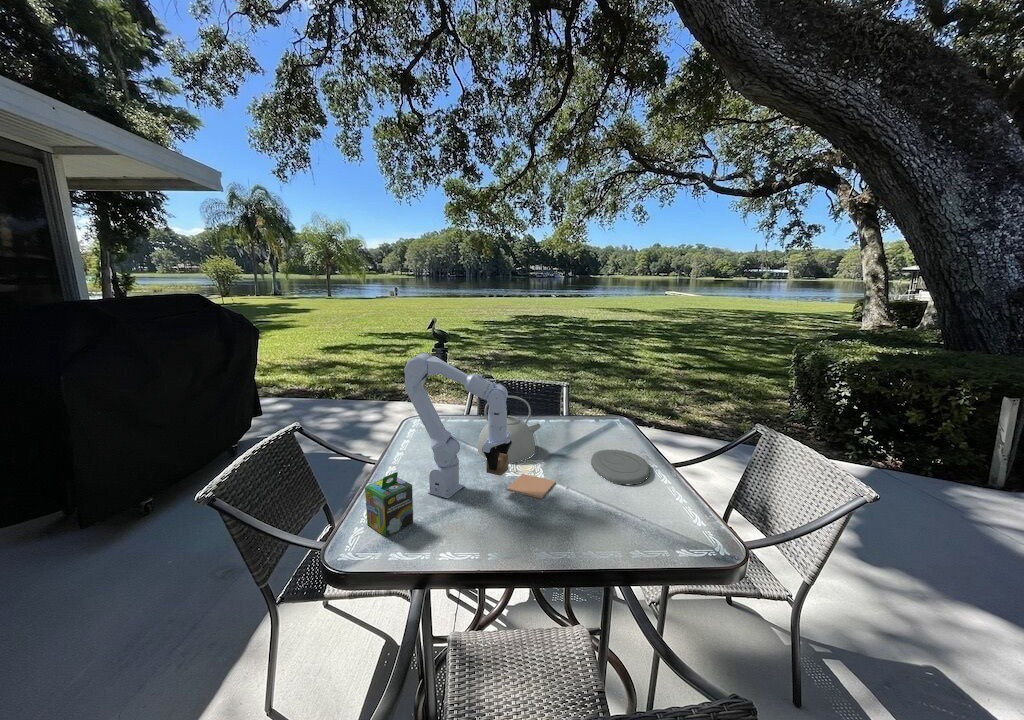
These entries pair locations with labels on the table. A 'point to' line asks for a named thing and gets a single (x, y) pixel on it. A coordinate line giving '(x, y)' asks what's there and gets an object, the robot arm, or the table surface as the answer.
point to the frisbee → (620, 466)
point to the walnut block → (500, 465)
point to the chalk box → (389, 505)
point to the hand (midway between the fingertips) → (497, 466)
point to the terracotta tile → (531, 486)
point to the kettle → (514, 436)
